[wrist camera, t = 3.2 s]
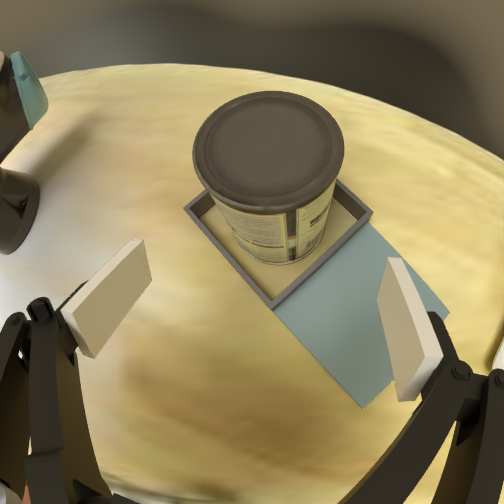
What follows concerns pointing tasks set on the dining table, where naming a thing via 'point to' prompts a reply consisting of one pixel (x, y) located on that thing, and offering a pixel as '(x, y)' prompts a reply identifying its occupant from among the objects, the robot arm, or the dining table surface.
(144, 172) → the dining table surface
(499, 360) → the salad plate
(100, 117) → the dining table surface
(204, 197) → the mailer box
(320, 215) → the coffee can
